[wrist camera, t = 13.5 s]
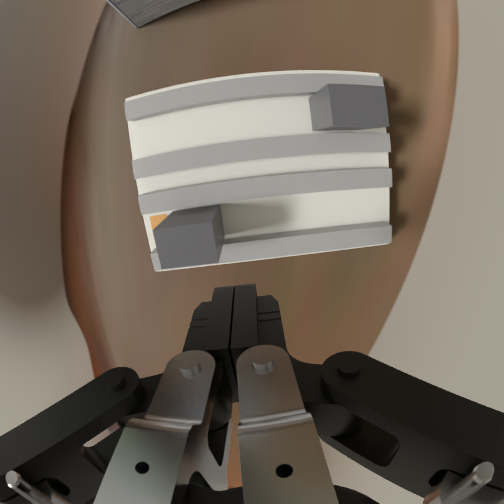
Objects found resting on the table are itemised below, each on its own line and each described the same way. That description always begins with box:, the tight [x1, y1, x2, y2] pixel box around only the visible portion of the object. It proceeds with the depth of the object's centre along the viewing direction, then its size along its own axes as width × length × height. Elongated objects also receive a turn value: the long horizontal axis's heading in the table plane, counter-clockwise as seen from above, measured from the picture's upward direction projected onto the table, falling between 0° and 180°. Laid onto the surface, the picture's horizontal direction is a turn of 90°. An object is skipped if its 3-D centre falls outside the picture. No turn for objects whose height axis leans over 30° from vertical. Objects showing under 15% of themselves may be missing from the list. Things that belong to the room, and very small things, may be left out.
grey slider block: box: [152, 204, 225, 269], centre depth 21 cm, size 3×4×6 cm
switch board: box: [124, 70, 392, 271], centre depth 22 cm, size 16×22×4 cm
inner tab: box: [308, 84, 389, 131], centre depth 18 cm, size 3×4×6 cm
